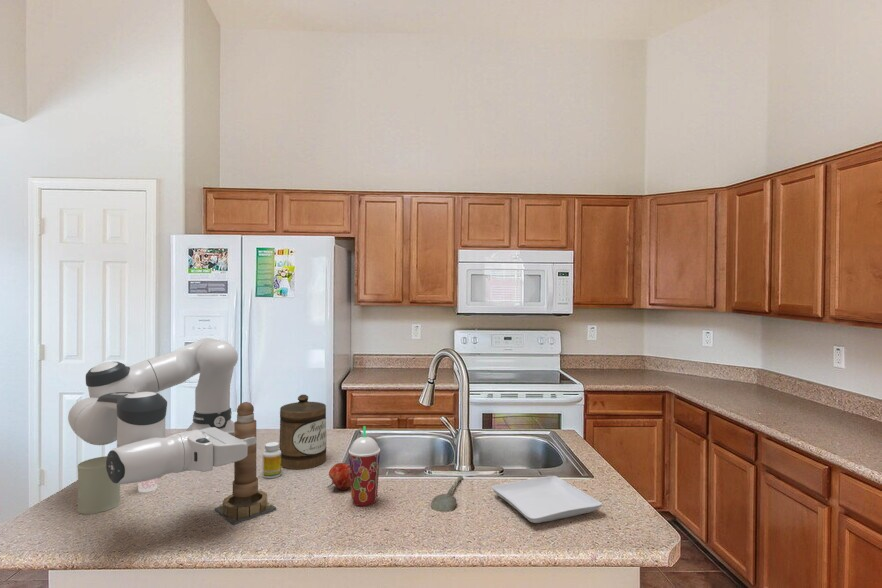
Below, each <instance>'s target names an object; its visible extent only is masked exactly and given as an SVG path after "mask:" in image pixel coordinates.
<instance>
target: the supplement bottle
mask: <svg viewBox="0 0 882 588" xmlns="http://www.w3.org/2000/svg"><path fill="white" fill-rule="evenodd" d="M279 443H280V442H279V441H278V442H277V441H271V442H266V444H265V445H264V451H263V453H262V477H263V478H264V479H275V478H278V477H280V476H281V475H282V466H281V451H280V450H279Z"/></svg>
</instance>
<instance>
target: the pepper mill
mask: <svg viewBox="0 0 882 588" xmlns="http://www.w3.org/2000/svg"><path fill="white" fill-rule="evenodd" d="M254 412H255V407H254V405H253V404H252V402H248V401H244V402H241V403H240V404H239V405H238V407H237V408H236V413H237V414H236V420H235V422H234V437H236V438H238V439H246V438H247V437H250V436H254V437H256V438H257V420H256V419H255V413H254ZM233 468H234V470H233V473H234V475H233V477H234V480H233V481H232V494H233V496H235V497H248V496H252V495H254V494H256V493H257V492H258V490H259V478H258V477H257V443H256V444H253V445H249V446H248V453H247V457H245V458H244V459H242V460H240V461H236V462H233Z"/></svg>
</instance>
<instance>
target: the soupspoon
mask: <svg viewBox="0 0 882 588" xmlns="http://www.w3.org/2000/svg"><path fill="white" fill-rule="evenodd" d="M461 481H464V476H463V475H458V476H457V478H456V480H455V481H454V482H453V484H452V485H451V486H450V488H449V490H448V491H447V493H444V494H443V493H442V494H438V495H437V496H435V497H434V498H433V499H432V500H431V502H430V507H431V509H432V510H433V511H436V512H441V513H448V512H453V511H454V509H455V508H456V506H457V498H456V497H455V496H454V495H452V494H451V493H452V492H453V490H454V488H455V487H456V485H457V484H458V483H459V482H461Z"/></svg>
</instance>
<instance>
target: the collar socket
mask: <svg viewBox="0 0 882 588" xmlns="http://www.w3.org/2000/svg"><path fill="white" fill-rule="evenodd" d="M273 511H277V507H276V506H275V505H273V504H272V503H271V502H269V501H268V493H267V492H265V491H263V490H259V489H258V492H257V493H256V494H254V495H252V496H248V497H235V496H233V493H232V494H229V495H228V496H225V498H223V501H222V503H221V504H220V505H219V506H218V507H214V512H216V513H217V514H218V513H219V514H218V515H220V516H221V517H222V518H224V519H225V520H226V521H227V522H228V523H230V524H231V525H233V526H234V525H238V524H241V523H243V522H246V521H249V520H251V519H254V518H257V517H260V516H263V515H265V514H268V513H271V512H273Z"/></svg>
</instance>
